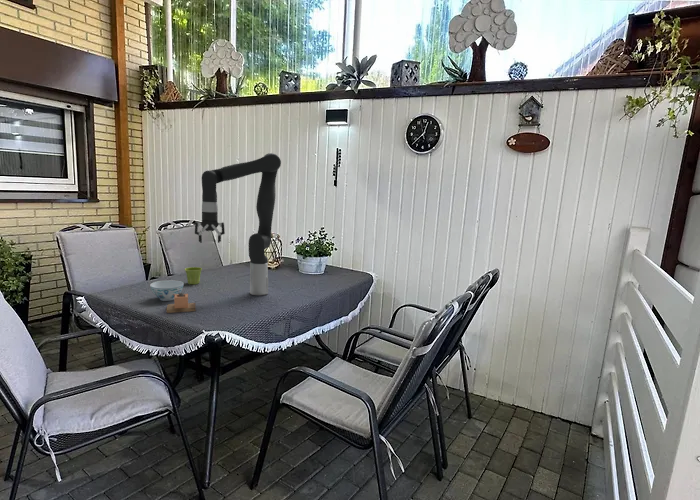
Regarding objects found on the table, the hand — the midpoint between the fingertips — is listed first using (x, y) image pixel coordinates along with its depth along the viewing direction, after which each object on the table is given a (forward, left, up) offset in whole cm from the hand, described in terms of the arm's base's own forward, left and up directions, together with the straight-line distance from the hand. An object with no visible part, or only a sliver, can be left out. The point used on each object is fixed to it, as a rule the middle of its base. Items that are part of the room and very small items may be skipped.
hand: (209, 242), depth 196 cm
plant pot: (+8, -27, -28) cm, 40 cm away
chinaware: (+20, +2, -28) cm, 35 cm away
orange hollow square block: (+13, +20, -27) cm, 36 cm away
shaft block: (+13, +20, -28) cm, 37 cm away
